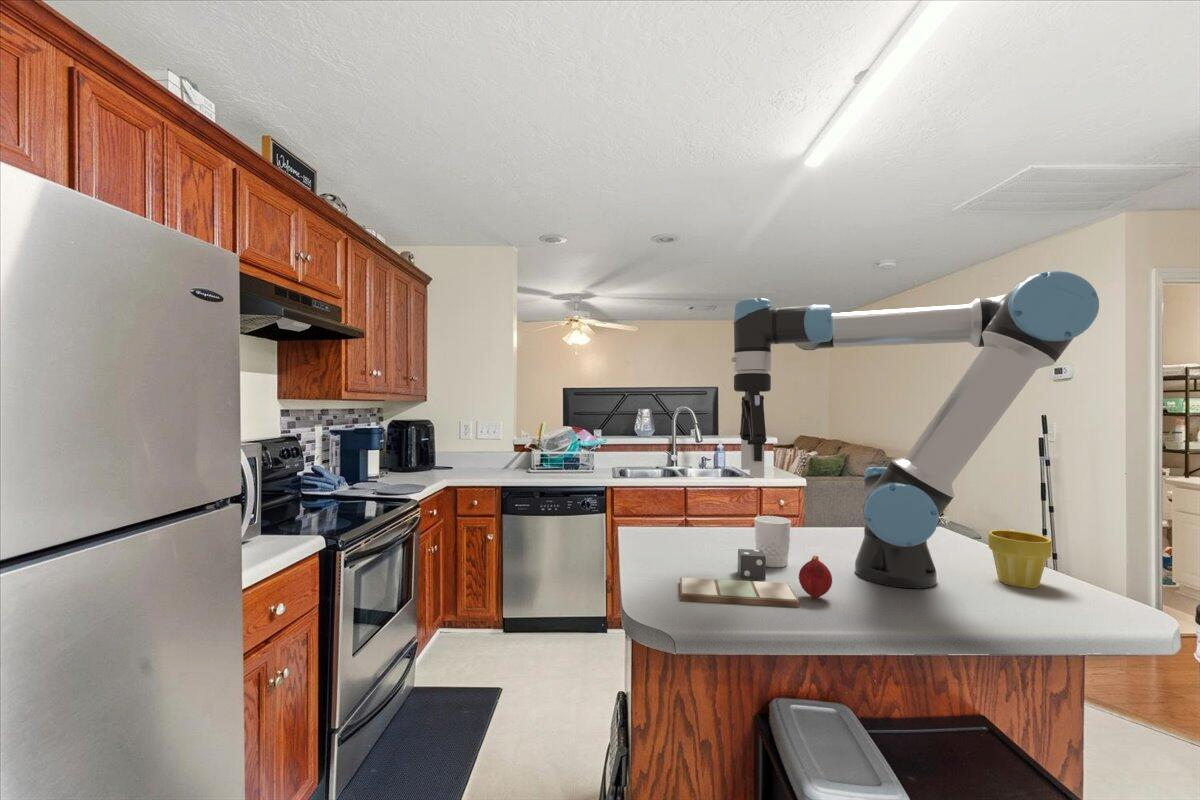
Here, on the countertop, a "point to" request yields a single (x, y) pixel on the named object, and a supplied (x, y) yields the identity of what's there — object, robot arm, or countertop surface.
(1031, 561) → the plant pot
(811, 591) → the onion
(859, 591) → the countertop surface
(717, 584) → the board
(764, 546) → the white cup
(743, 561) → the die
